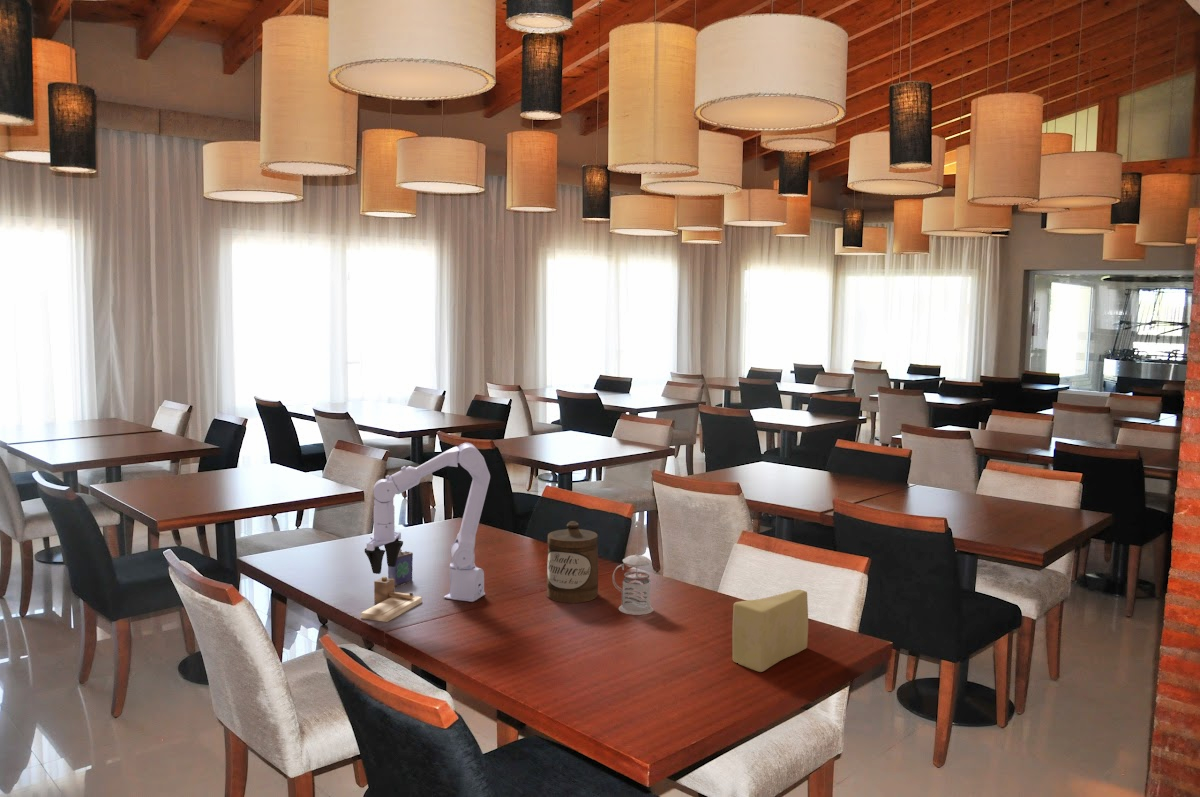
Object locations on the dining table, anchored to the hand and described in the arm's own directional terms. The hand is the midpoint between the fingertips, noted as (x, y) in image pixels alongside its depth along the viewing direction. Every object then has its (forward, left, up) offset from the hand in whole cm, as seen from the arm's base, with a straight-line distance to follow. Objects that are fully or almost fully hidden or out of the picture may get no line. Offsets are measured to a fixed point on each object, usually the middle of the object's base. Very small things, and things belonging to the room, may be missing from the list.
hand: (384, 569), depth 261 cm
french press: (-67, -20, -9) cm, 71 cm away
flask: (+5, -16, -9) cm, 19 cm away
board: (-6, +6, -9) cm, 13 cm away
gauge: (-3, 0, -9) cm, 10 cm away
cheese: (-110, +2, -9) cm, 111 cm away
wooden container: (-47, -25, -9) cm, 54 cm away
